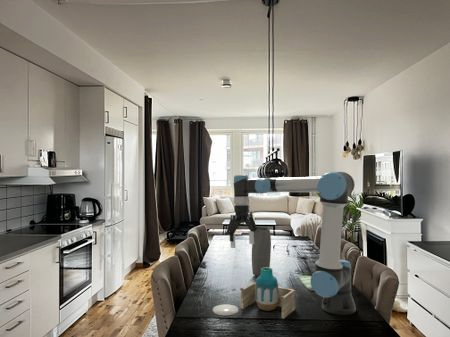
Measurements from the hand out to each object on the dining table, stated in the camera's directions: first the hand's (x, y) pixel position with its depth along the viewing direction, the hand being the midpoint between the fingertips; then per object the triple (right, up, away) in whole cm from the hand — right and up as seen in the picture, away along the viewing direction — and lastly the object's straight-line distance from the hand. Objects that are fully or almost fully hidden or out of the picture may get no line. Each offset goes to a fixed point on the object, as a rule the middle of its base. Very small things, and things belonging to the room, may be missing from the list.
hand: (242, 245), depth 179 cm
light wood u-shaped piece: (+11, -27, -15) cm, 33 cm away
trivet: (-9, -27, -16) cm, 33 cm away
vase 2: (+11, -27, -16) cm, 33 cm away
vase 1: (+14, -28, +39) cm, 50 cm away
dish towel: (+45, -28, +22) cm, 57 cm away
